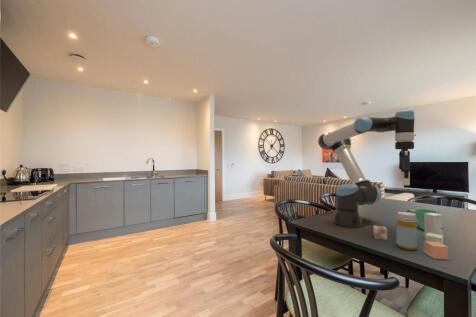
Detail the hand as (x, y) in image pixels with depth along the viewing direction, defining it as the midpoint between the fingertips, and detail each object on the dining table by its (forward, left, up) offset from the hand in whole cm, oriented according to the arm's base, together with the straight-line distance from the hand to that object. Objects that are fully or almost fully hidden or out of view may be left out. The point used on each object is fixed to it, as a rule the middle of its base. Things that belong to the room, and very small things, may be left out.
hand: (404, 183), depth 106 cm
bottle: (0, -17, -27) cm, 32 cm away
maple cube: (-10, -10, -27) cm, 30 cm away
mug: (+8, +18, -27) cm, 33 cm away
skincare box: (+11, +2, -27) cm, 29 cm away
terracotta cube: (+9, -21, -27) cm, 35 cm away
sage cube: (+10, -9, -27) cm, 30 cm away
